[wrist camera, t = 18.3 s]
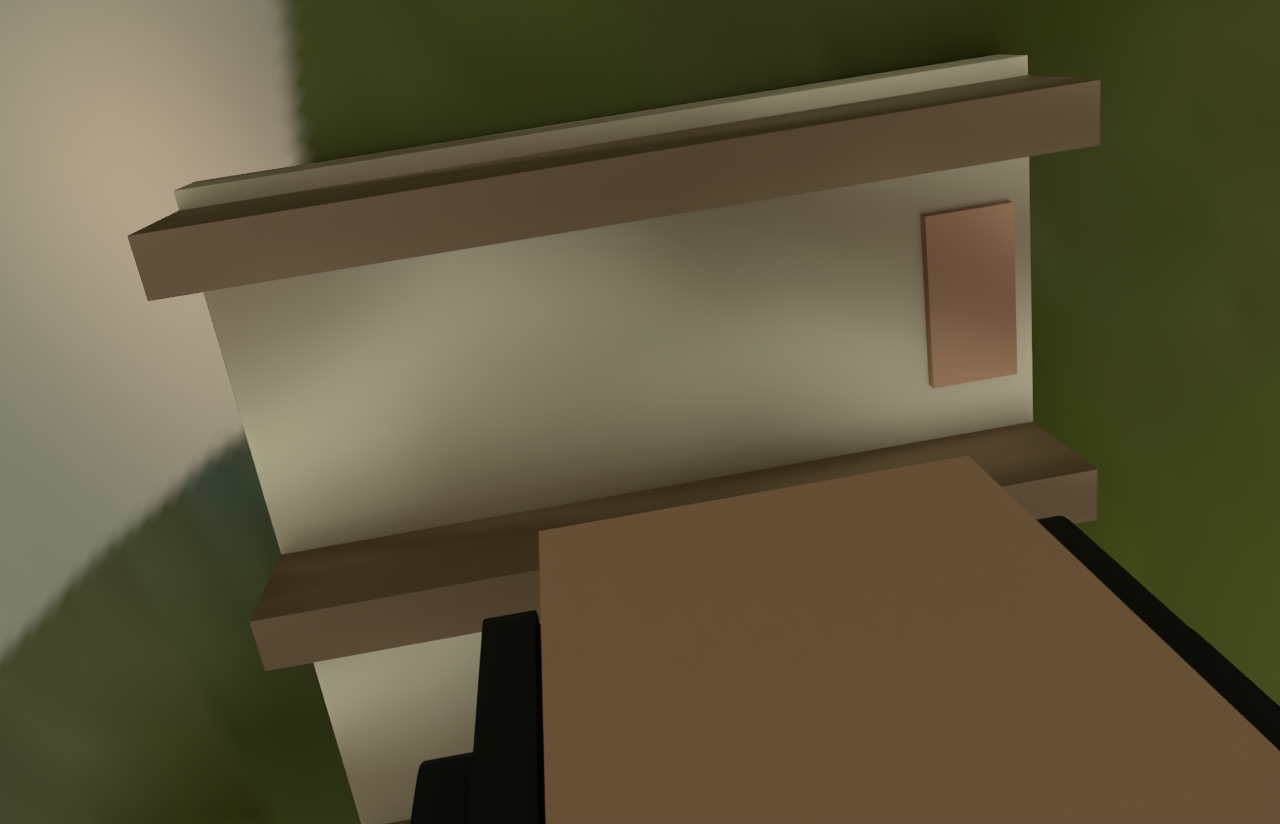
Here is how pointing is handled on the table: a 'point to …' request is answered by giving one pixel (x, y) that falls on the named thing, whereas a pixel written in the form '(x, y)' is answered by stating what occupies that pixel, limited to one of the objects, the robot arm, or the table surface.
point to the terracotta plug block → (870, 670)
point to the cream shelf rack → (608, 350)
